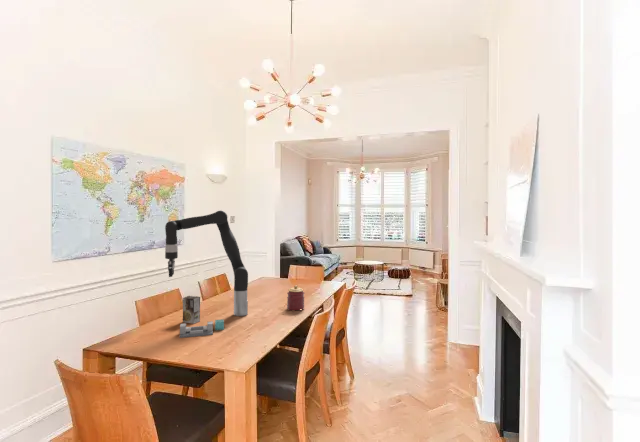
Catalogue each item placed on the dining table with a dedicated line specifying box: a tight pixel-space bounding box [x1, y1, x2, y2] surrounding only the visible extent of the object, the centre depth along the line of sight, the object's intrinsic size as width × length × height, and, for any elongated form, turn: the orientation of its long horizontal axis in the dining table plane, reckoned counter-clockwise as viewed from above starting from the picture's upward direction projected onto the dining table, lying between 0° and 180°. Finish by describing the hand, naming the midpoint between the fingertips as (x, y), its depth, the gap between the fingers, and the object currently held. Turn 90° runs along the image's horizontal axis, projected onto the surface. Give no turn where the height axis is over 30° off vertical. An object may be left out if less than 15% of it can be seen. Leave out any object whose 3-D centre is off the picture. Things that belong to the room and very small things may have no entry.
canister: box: [286, 285, 305, 311], centre depth 255 cm, size 13×13×18 cm
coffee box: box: [182, 295, 201, 324], centre depth 221 cm, size 9×6×16 cm
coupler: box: [214, 318, 225, 331], centre depth 208 cm, size 5×5×5 cm
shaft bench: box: [179, 320, 214, 339], centre depth 200 cm, size 18×12×5 cm, turn 108°
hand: (171, 275), depth 224 cm, fingers open, 8 cm apart
